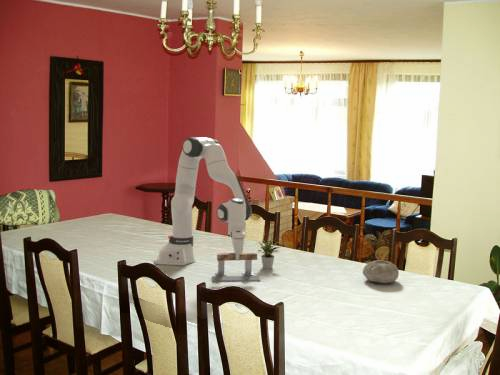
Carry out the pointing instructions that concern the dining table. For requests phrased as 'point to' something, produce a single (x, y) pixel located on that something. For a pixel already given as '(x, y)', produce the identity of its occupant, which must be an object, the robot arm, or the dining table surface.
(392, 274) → the grey flattened round lump
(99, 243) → the dining table surface
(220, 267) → the standard left
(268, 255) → the house plant
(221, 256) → the rail
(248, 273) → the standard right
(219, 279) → the pad
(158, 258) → the robot arm
